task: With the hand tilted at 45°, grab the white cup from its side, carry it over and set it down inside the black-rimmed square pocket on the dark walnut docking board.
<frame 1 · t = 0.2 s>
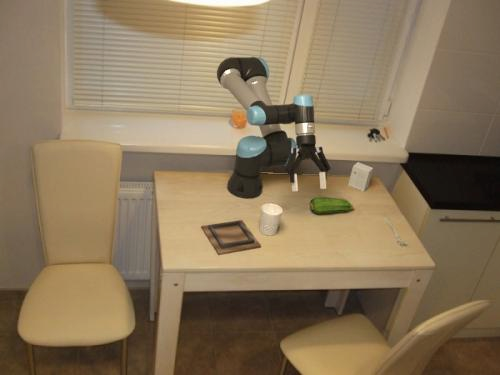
hand: (309, 190, 210), 15 cm above the table, tool tilted 30°, fingers open, 13 cm apart
vegetable: (330, 212, 228), on the table
small box: (357, 186, 250), on the table
dock board: (230, 237, 202), on the table
fork: (391, 230, 224), on the table
white cup: (267, 231, 209), on the table
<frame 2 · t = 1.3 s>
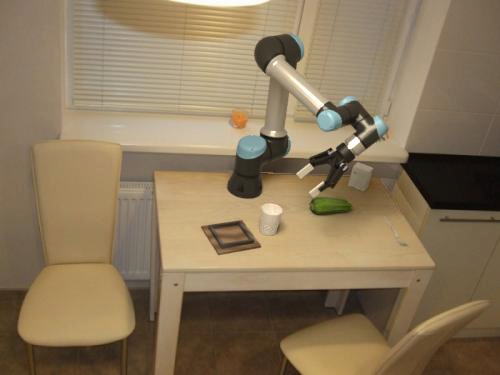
hand: (304, 185, 202), 20 cm above the table, tool tilted 45°, fingers open, 13 cm apart
nothing on the table moved.
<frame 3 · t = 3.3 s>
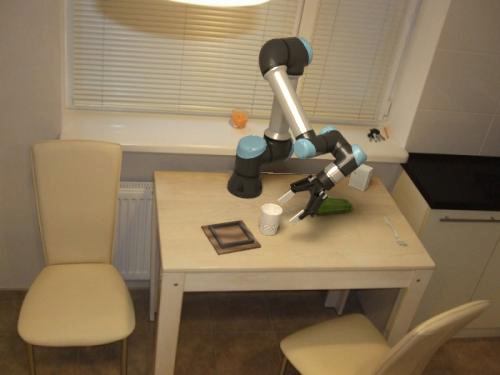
hand: (285, 212, 205), 9 cm above the table, tool tilted 45°, fingers open, 13 cm apart
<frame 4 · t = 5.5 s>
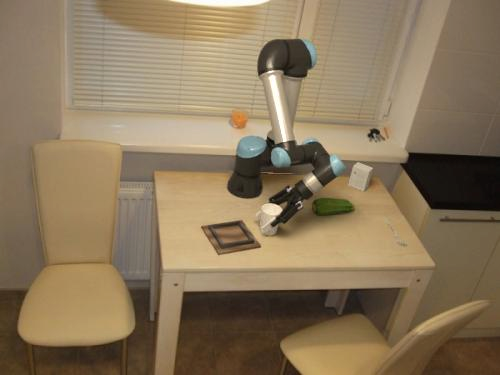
hand: (260, 223, 206), 4 cm above the table, tool tilted 45°, fingers closed on white cup, 8 cm apart
white cup: (267, 231, 209), on the table, touching gripper
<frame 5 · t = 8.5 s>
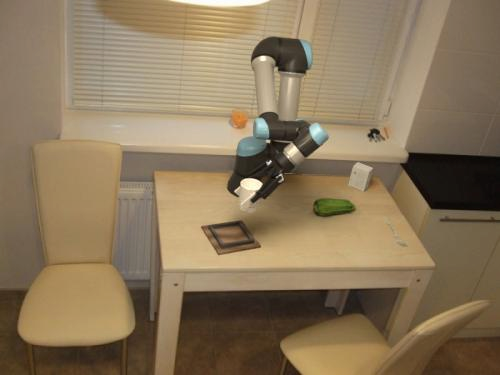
hand: (240, 199, 193), 17 cm above the table, tool tilted 45°, fingers closed on white cup, 8 cm apart
white cup: (248, 208, 196), point 13 cm above the table, touching gripper
when the fingers open (6 cm above the table, at t = 11.4 s): white cup drops 2 cm, resting on dock board.
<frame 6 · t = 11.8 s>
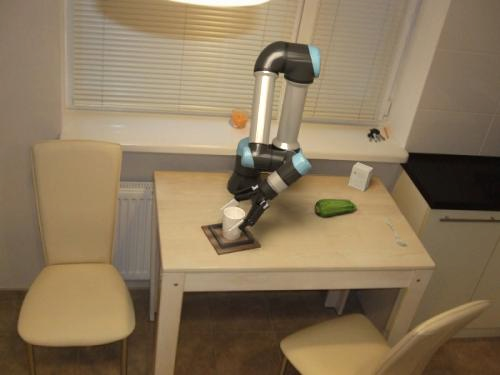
hand: (226, 222, 198), 7 cm above the table, tool tilted 45°, fingers open, 13 cm apart
white cup: (231, 235, 202), point 1 cm above the table, touching dock board
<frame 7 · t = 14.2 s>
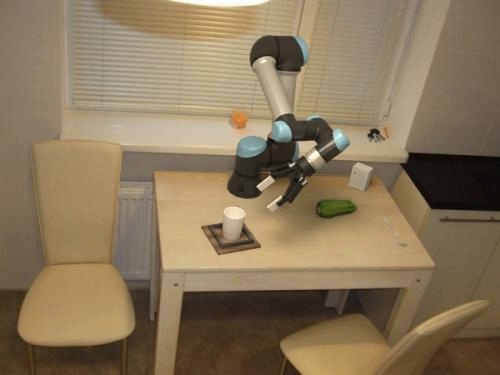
hand: (263, 199, 196), 17 cm above the table, tool tilted 45°, fingers open, 13 cm apart
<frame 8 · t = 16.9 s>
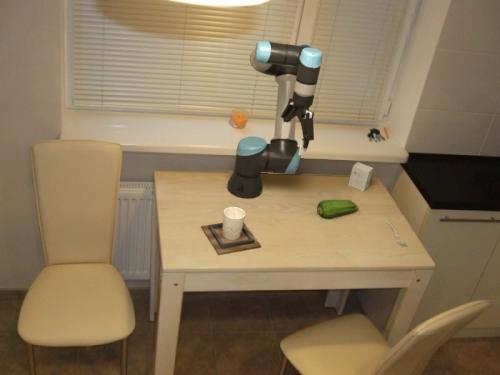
hand: (293, 146, 203), 32 cm above the table, tool pointing down, fingers open, 13 cm apart
at the end: white cup 0.5 cm off-centre on the dock board, point 0.6 cm above the dock board's base; white cup tilted 0°; the gripper is holding nothing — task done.
